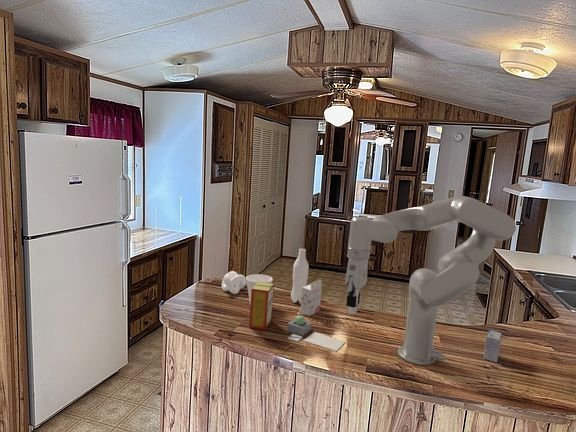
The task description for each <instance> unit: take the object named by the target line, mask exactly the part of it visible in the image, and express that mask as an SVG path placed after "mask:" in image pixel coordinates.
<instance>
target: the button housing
mask: <svg viewBox="0 0 576 432" xmlns="http://www.w3.org/2000/svg"><path fill="white" fill-rule="evenodd" d="M295 322H296V317H295V318H294V319H292V320H291V321H289V322H288V323H287V325H286V332H289V333H292V334H295V335H298V336H301V337H303V336H306V335H307V334H308V333H309V332H310V331H312V321H308V320H305V319H304V325H303V326H299V325H296V324H295Z"/></svg>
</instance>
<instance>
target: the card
mask: <svg viewBox="0 0 576 432" xmlns="http://www.w3.org/2000/svg"><path fill="white" fill-rule="evenodd" d="M302 339H303V336H301V335H298V334H295V333H292V334H291V335H289V336H288V337H287V340H291V341H294V342H297V343H298V342H299V341H300V340H302Z"/></svg>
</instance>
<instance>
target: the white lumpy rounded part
mask: <svg viewBox="0 0 576 432" xmlns="http://www.w3.org/2000/svg"><path fill="white" fill-rule="evenodd" d="M246 285H247V280H246V276H245V275H243V274H238V272H236V271H234V270H232V271H229V272H227V273H226V274H225V275H224V276H223V279H222V281H221V289H222V291H224V292H230V293H231V294H233V295H236V294H237V295H238V293H239V292H240V290H241V289H243V288H244V287H245V286H246Z"/></svg>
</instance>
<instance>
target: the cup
mask: <svg viewBox="0 0 576 432" xmlns="http://www.w3.org/2000/svg"><path fill="white" fill-rule="evenodd" d="M245 278H246V285H247V293H248V300H249V306H250V305H251V291H252V288H253V287H254V286H255V285H256V284H257V282H265V283H272V284H273V280H274V278H272V276H269V275H267V274H259V273H256V274H250V275H247V276H245Z"/></svg>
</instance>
